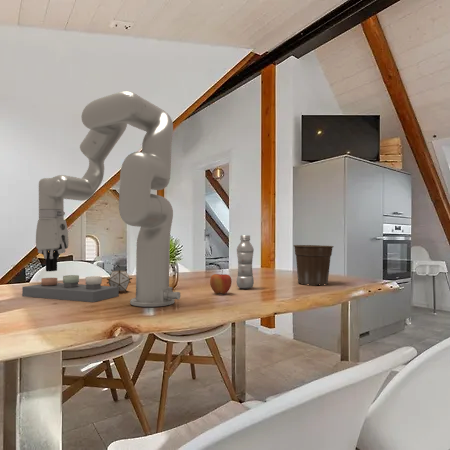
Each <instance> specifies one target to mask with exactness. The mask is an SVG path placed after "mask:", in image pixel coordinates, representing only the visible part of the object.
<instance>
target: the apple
mask: <svg viewBox="0 0 450 450" xmlns="http://www.w3.org/2000/svg"><path fill="white" fill-rule="evenodd" d="M223 272H224V270H221V273H214V274H212V275H211V276H210V279H209V283H210V288H211V290H212V291H213V292H214V294H215V295H219V294H222V295H226V294H227V293H228V292H229V291H230V289H231V286H232V278H231V276H230V275H229V274H227V273H226V274H225V273H224V274H223Z"/></svg>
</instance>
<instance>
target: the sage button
mask: <svg viewBox="0 0 450 450" xmlns="http://www.w3.org/2000/svg"><path fill="white" fill-rule="evenodd" d="M62 283H64V288H74V287H78V284H79V283H80V275H78V274H76V275H75V274H70V275H68V274H67V275H62Z"/></svg>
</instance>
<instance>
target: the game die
mask: <svg viewBox="0 0 450 450" xmlns="http://www.w3.org/2000/svg"><path fill="white" fill-rule="evenodd" d="M110 271H111V273H110V275H109V278H106V280H107V282H106V284H108V286H113V287H119V292H125V293H128V291H127V289H128V286H129V284H131V283H132V281H130V280H132V279H133V277H130V276H129V274H128V272H127V271H128V268H125V270H121V269H119V270H114V269H112V268H111V269H110Z"/></svg>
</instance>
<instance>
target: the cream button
mask: <svg viewBox="0 0 450 450" xmlns="http://www.w3.org/2000/svg"><path fill="white" fill-rule="evenodd" d="M102 279H103V278H102V276H95V275H93V276H86V277H85V284H84V285H86V289H93V290H95V289H100V288H101V286H102V284H103V283H102V281H103V280H102Z"/></svg>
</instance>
